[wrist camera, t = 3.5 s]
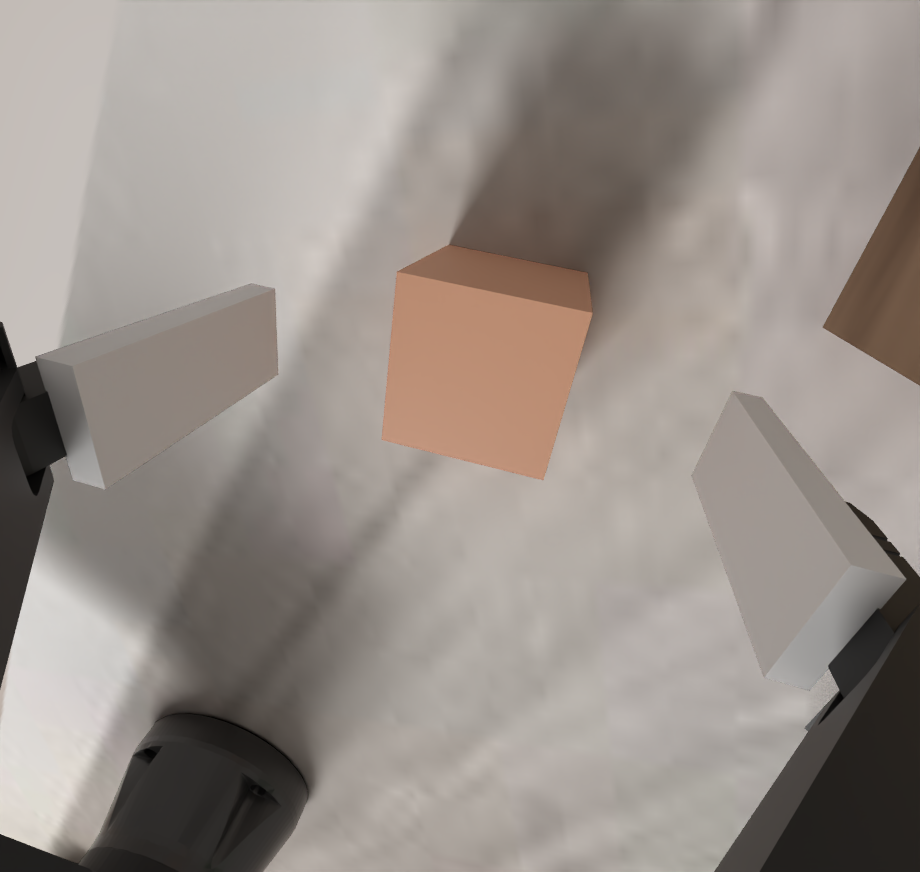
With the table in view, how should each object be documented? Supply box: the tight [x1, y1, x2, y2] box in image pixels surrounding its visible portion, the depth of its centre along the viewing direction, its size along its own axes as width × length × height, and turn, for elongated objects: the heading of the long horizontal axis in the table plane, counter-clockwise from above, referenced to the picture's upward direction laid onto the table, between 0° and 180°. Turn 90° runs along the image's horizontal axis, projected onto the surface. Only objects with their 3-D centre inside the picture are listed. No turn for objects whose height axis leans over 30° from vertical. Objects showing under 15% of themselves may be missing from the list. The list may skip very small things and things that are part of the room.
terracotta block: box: [382, 245, 593, 480], centre depth 17 cm, size 6×6×6 cm
